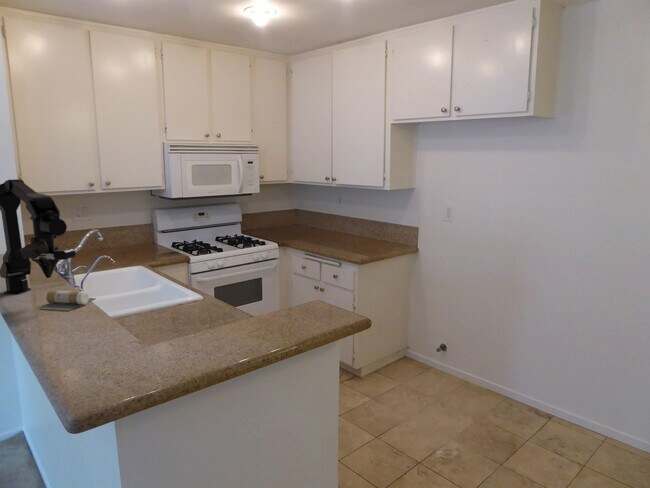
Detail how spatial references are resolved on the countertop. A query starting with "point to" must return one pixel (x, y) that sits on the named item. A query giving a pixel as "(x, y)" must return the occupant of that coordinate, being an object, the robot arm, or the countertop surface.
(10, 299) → the countertop surface
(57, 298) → the sprinkles bottle
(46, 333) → the countertop surface
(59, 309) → the mat
